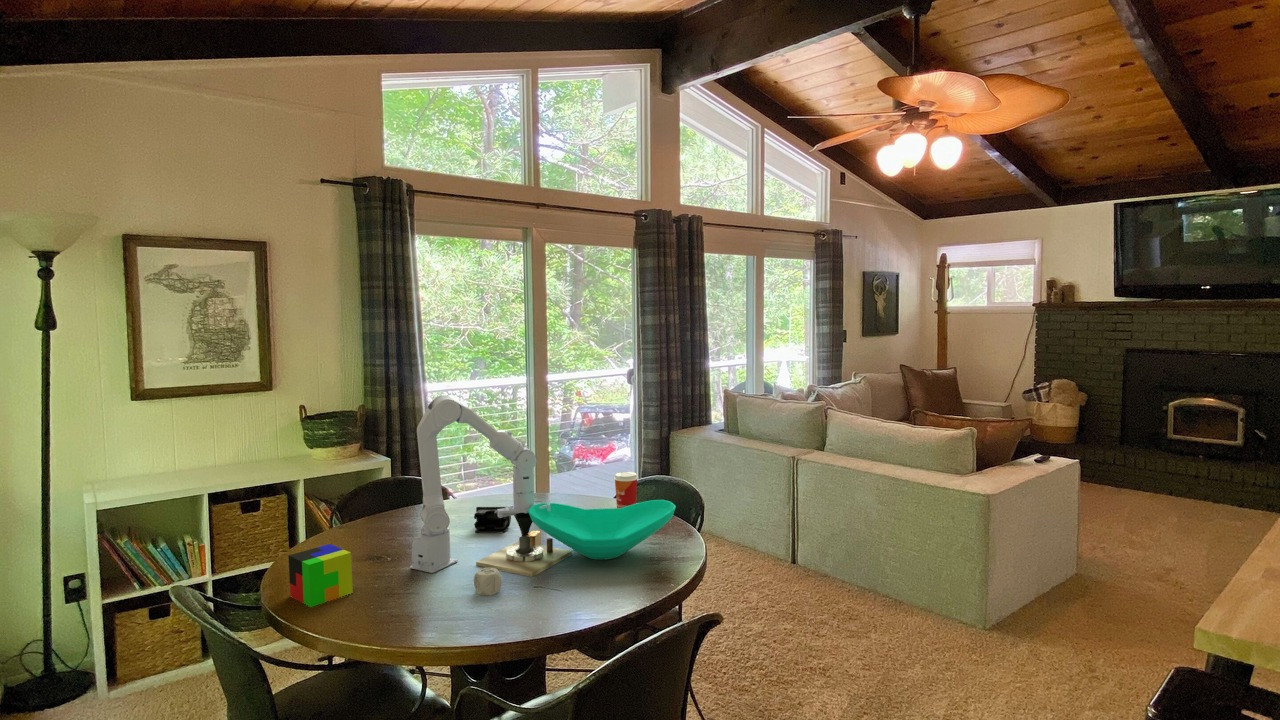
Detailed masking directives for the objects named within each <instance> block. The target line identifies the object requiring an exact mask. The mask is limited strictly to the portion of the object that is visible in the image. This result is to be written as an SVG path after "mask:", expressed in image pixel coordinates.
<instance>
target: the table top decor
mask: <svg viewBox="0 0 1280 720" xmlns="http://www.w3.org/2000/svg"><path fill="white" fill-rule="evenodd" d="M538 503H539V504H536V505H533V506H532V507H531V508H530V509H529V510H528V512H529V515H530V517H531V520H532V524H534V525H535V526H537V528H539V529H540V531H543V532H544V533H545V534H547V535H549V536H550V537H551V538H552V539H553V538H554V539H555V540H557V541H558V542H560V543H562V544H563V545H565V546H567V547H568V548H570V549H571V550H573V551H575V552H578V553H579V554H581V555H582V556H584V557H586V558H588V559H591V560H610V559H611V560H613V559H615V558H618V557H620V556H622V555H623V554H626V553H627V552H628V551H630V550H631V549H632V548H634V547H636V546H637V545H639V544H640V543H641V542H643V541H645V540H646V539H648V538H649V537H651V536H652V535H653V534H655V533H657V532H658V531H659V530H660V529H661V528H663V527H664V526H665V525H666V524H668V522H669V521H670V520H671V519H672V518H673V516H674V514H675V510H676V507H677V506H676V504H674V503H673V502H672V501H669V500H665V499H653V500H652V499H651V500H647V501H640V502H636V504H633V505H630V506H626V507H623V508H617V507H616V508H611V507H610V508H588V509H587V508H586V509H585V508H580V507H577V506H574V505H568V504H562V503H555V502H538ZM547 504H550V506H551V511H547V509H546V508H543V509H540V508H539V507H540V506H543V505H547Z"/></svg>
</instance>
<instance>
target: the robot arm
mask: <svg viewBox="0 0 1280 720" xmlns="http://www.w3.org/2000/svg"><path fill="white" fill-rule="evenodd" d="M455 422H456V423H458V424H467V425H468V426H470V427H471V428H473V429H474V430H476V431H477V432H478V433H479V434H481V435H483V436H484V437H485V438H486V439H488V440H489V441H488V442H489V447H490V448H492V449H493V450H494V451H495V452H497V453H498V454H499V455H500V456H502V457H503V458H504V459H506V460H507V461H510V463H511V465H513V466H512V468H513V469H512V470H513V471H512V472H513V474H512V480H513V481H512V487H513V488H512V489H513V490H512V491H513V492H512V494H513V497H512V498H513V505H511V506H510V505H509V506H505V507H506V508H502V509H497V516H498V517H499V518H503V517H505V516H511V517H512V516H513V517H514V518H515V520H516V522H517V524H518V527H519V530H520V534H521V537H522V536H527V535H528V534H529V533H530V529H531V527H532V524H533V522H532V520H531V517H530V515H529V512H528V510H529V509H530V508H531V507H532V506H533V505H536V504H539V503H540V502H537V503H536V501H535V500H536V499H535V473H534V472H535V470H534V468H535V466H536V465H537V461H538V459H537V458H536V456H535V455H536V454H535V453H534V452H533V451H532V450H530V449H529V448H528V447H527V446H526V443H524V442H523V441H520V440H518V439H517V438H515V437H514V436H513V432H511V431H510V430H507V431H506V430H505V429H499V430H498V429H495V428H494V427H493V426H492V425H490V424H489V423H488V422H486V421H485V420H484V419H483V418H482V417H481V416H479V415H478V414H477V413H476V412H474V410H472V409H470V407H468V406H466V405H464V404H462V403H460V402H458V401H456V400H454V399H453V398H451V397H450V396H448V395H443V394H442V395H439V396H436V397H435V398H433V400H432V401H431V402H429V404H427V406H426V409H425V411H424V414H423V415H422V417H421V419H420V420H419V423H418V425H417V427H416V437H417V445H418V455H419V465H420V475H421V488H422V494H423V495H422V507H421V510H420V520H421V521H422V522H423V526H422V527H421V529H420V533H419V535H418V536H417V537H416V538H414V539H413V541H412V544H411V563H412V564H411V565H410V566H409V568H410V569H413V570H417V571H421V572H426V573H431V574H433V573H436V572H439V571H441V570H442V569H445V568H446V567H449V566H451V565H453V564H455V563H457V562H458V559H457V558H453V557H451V542H450V541H451V537H450V527H449V526H450V516H449V514H448V513H447V511H446V509H445V502H444V498H443V491H442V490H443V489H442V479H441V470H440V461H439V460H440V459H439V449H438V448H439V447H438V439H437V436H438V435H439V434H440V433H441V432H442V431H443V430H444V428H446V427H448V426H450V425H451V424H453V423H455ZM539 508H540V509H543V508H546V509H547V511H551V506H550V504H547V505H543V506H540V507H539Z"/></svg>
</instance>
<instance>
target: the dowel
mask: <svg viewBox="0 0 1280 720" xmlns="http://www.w3.org/2000/svg"><path fill="white" fill-rule="evenodd" d="M553 540H554V539H553V537H547V538H546V546H547V552H548V553H551V552H553V547H554V544H553V543H554V541H553Z"/></svg>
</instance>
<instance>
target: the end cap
mask: <svg viewBox="0 0 1280 720" xmlns="http://www.w3.org/2000/svg"><path fill="white" fill-rule="evenodd" d="M506 507H507V506H477V507H476V509H475V510H476V511H475V513H474V514H473V515H474V516H473V519H474V520H476V521H475V522H474V524H473V525H474V528H475V534H504V533H506V532H507V531H508V529H509V527H510V525H511V523H512V522H511V521H512V516H505V517H503V518H499V517H498V516H497V509H502V508H506Z"/></svg>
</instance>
